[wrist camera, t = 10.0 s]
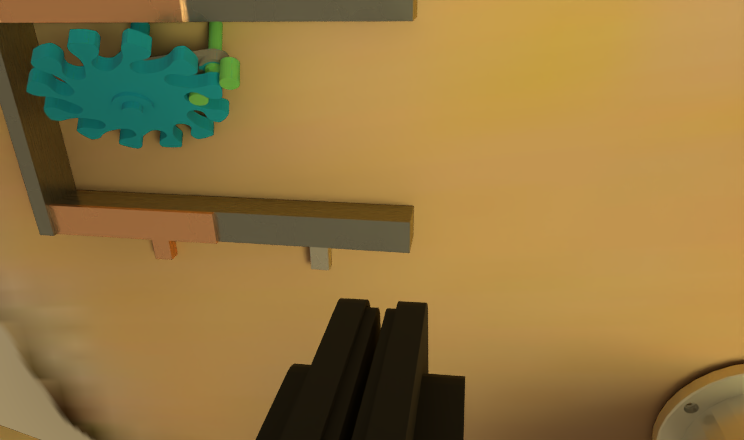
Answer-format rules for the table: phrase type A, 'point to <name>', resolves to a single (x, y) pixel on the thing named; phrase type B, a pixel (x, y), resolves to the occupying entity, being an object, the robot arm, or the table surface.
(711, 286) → the table surface
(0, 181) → the table surface
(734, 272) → the table surface
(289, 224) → the rail
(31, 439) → the dish with food
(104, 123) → the gear
